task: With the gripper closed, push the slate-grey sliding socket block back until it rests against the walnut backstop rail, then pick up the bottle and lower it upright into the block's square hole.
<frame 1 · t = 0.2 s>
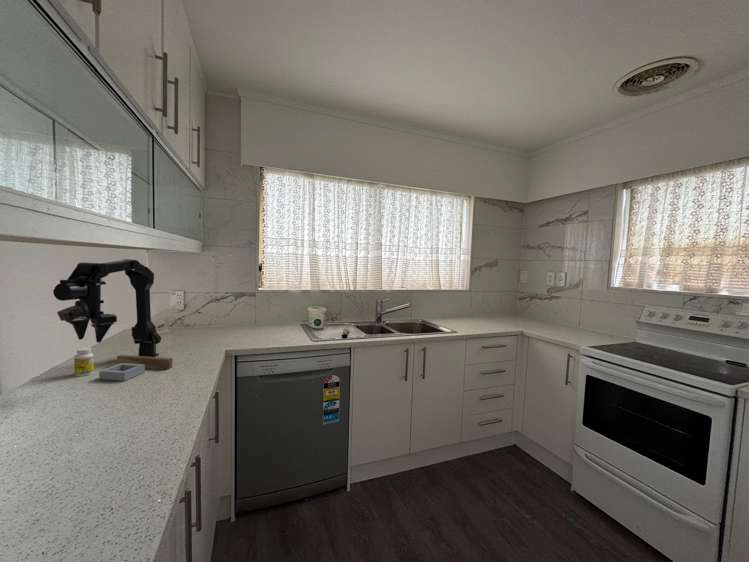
hand: (89, 340, 113), 14 cm above the counter, tool pointing down, fingers open, 9 cm apart
backstop rail: (144, 366, 129), on the counter
supplement bottle: (84, 374, 119), on the counter
socket block: (122, 371, 119), point 2 cm above the counter, slide at 4.8 cm
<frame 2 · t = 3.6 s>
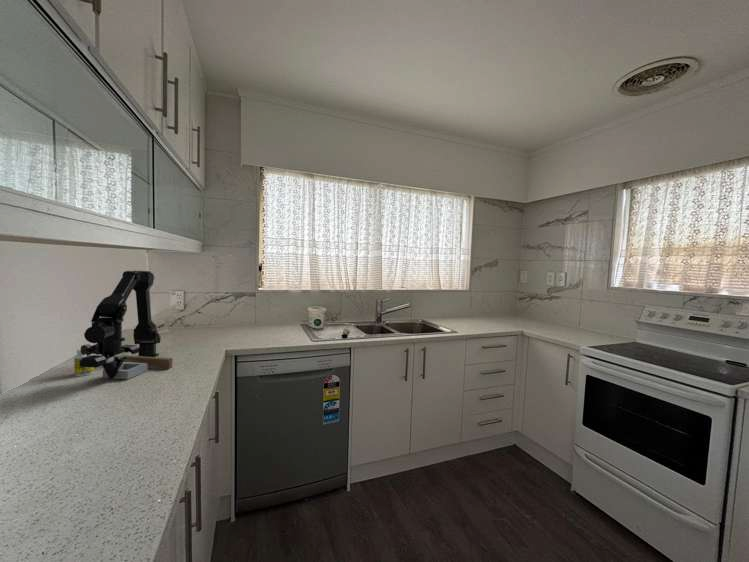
hand: (111, 378, 114), 1 cm above the counter, tool pointing down, fingers closed
socket block: (126, 370, 120), point 2 cm above the counter, slide at 3.3 cm, touching gripper
everything else where it was.
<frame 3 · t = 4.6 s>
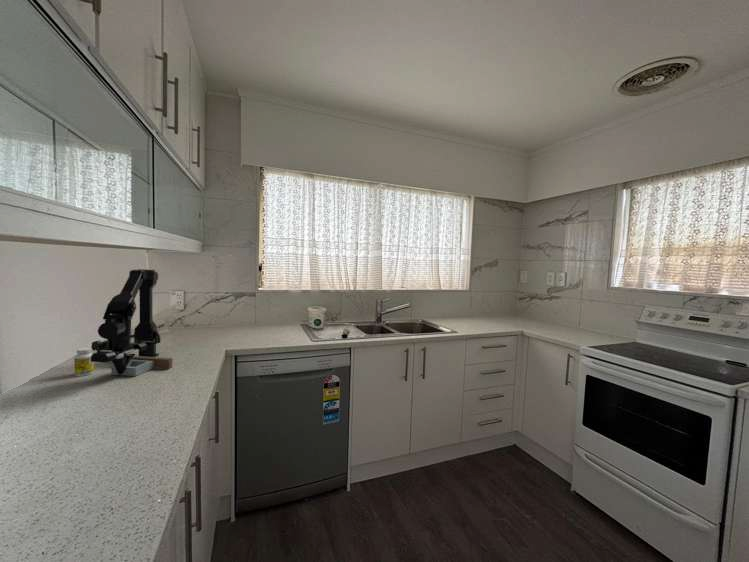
hand: (120, 374, 117), 1 cm above the counter, tool pointing down, fingers closed
socket block: (133, 367, 124), point 2 cm above the counter, slide at -0.3 cm, touching backstop rail, gripper
everything else where it was.
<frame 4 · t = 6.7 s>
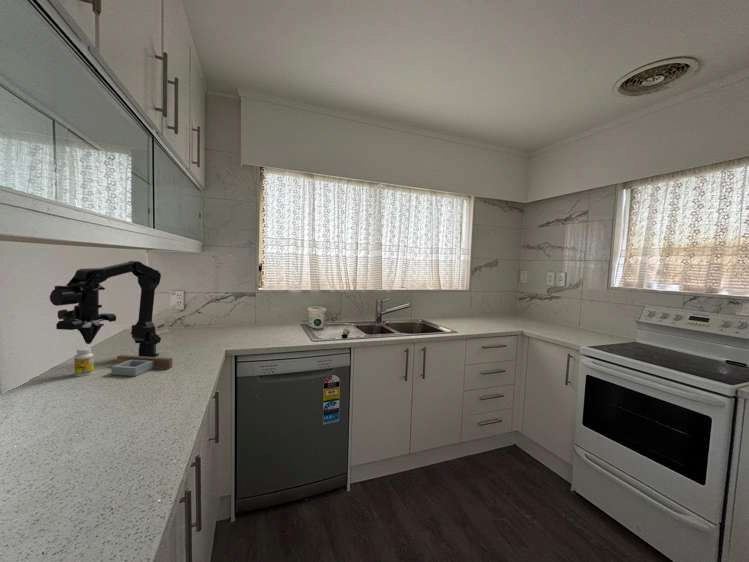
hand: (88, 343, 118), 12 cm above the counter, tool pointing down, fingers closed
socket block: (133, 367, 124), point 2 cm above the counter, slide at -0.3 cm, touching backstop rail
everything else where it was.
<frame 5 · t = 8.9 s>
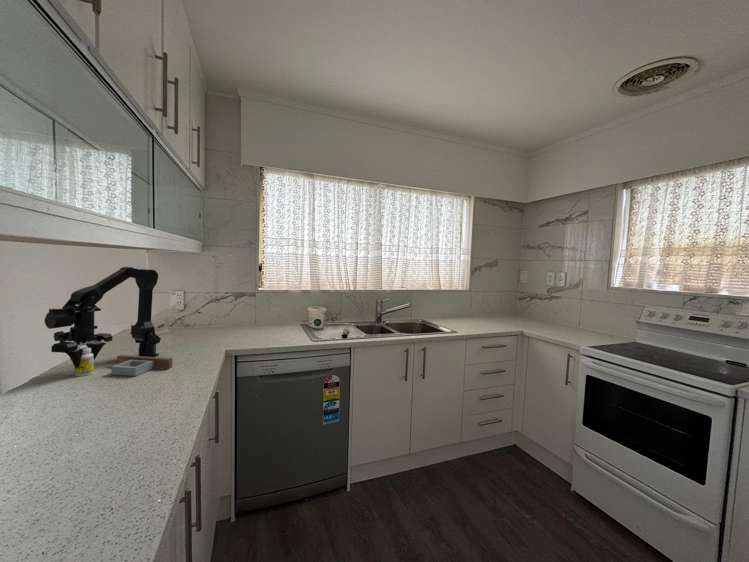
hand: (84, 364, 119), 4 cm above the counter, tool pointing down, fingers closed on supplement bottle, 5 cm apart
supplement bottle: (84, 374, 119), on the counter, touching gripper
everything else where it was.
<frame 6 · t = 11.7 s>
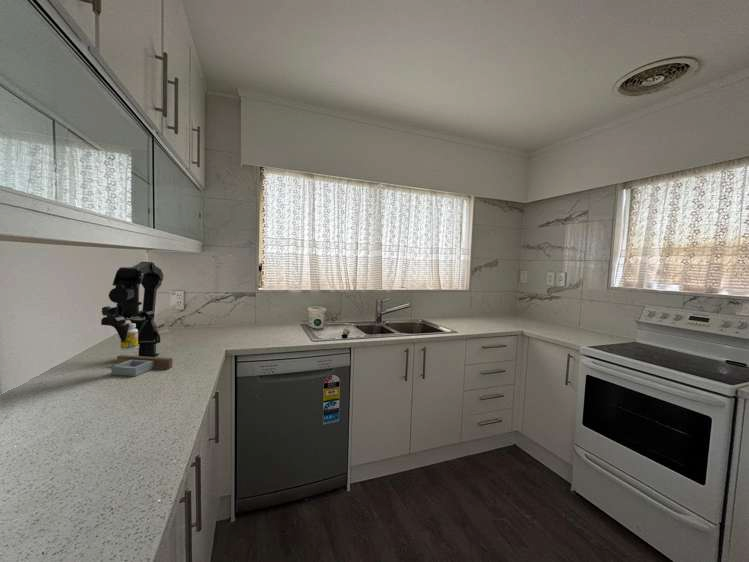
hand: (129, 339, 123), 13 cm above the counter, tool pointing down, fingers closed on supplement bottle, 5 cm apart
supplement bottle: (129, 348, 123), point 9 cm above the counter, touching gripper
everything else where it was.
when the fingers open (4 cm above the counter, at t = 14.3 s): supplement bottle stays where it is, resting in socket block.
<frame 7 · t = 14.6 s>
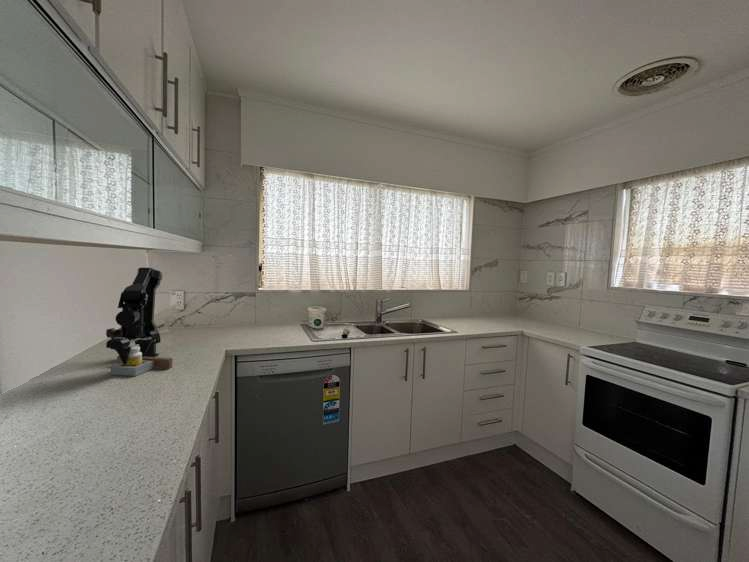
hand: (133, 360, 123), 4 cm above the counter, tool pointing down, fingers open, 8 cm apart
supplement bottle: (133, 372, 124), resting in socket block
everything else where it was.
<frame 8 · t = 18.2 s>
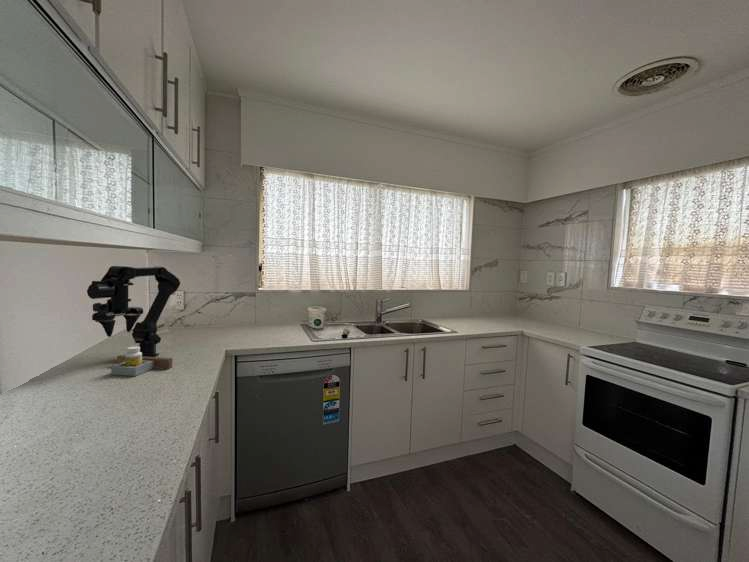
hand: (119, 334, 129), 13 cm above the counter, tool pointing down, fingers open, 9 cm apart
nothing on the counter moved.
at the end: socket block slide at -0.3 cm; supplement bottle 0.1 cm from the socket block (horizontally); supplement bottle tilted 0° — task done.
